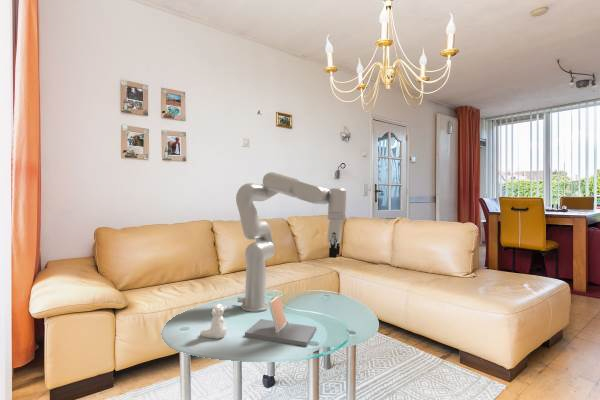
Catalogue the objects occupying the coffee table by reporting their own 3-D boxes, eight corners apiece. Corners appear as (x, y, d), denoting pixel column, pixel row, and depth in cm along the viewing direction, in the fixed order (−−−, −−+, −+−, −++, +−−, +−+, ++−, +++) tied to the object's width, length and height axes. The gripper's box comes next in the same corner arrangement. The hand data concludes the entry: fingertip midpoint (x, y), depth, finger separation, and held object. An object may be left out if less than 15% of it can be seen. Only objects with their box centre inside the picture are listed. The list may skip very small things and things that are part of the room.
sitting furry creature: (220, 329, 129) (221, 298, 129) (234, 335, 124) (235, 303, 124) (199, 335, 122) (200, 303, 122) (212, 342, 116) (214, 308, 117)
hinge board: (244, 336, 123) (245, 328, 123) (260, 322, 138) (261, 315, 139) (306, 346, 117) (307, 338, 117) (316, 330, 132) (316, 323, 132)
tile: (268, 302, 124) (270, 302, 124) (276, 296, 134) (279, 295, 134) (276, 331, 123) (278, 331, 123) (284, 322, 133) (286, 322, 132)
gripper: (330, 215, 153) (328, 252, 152) (324, 216, 136) (322, 257, 136) (346, 216, 151) (344, 254, 151) (342, 217, 134) (340, 259, 134)
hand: (334, 255), depth 143 cm, fingers open, 9 cm apart
